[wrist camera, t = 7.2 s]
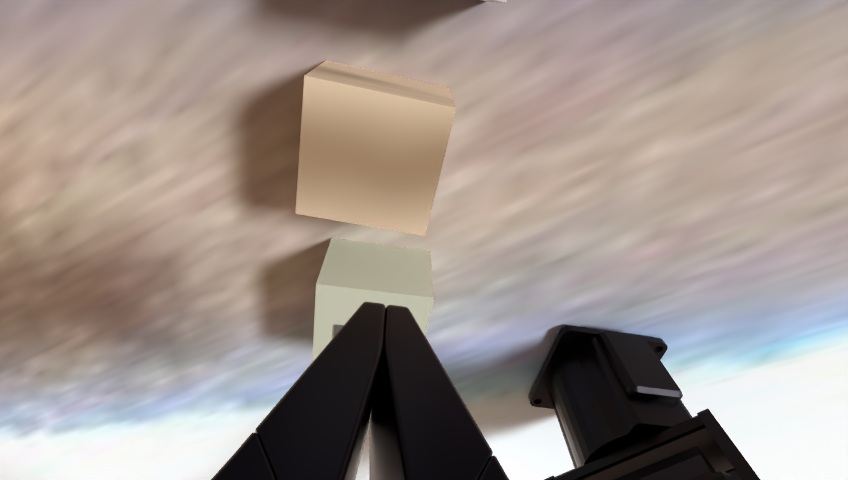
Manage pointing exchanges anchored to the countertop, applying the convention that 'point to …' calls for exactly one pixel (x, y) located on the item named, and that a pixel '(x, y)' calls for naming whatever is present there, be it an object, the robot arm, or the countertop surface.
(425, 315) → the sage block one
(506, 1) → the white die
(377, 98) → the birch block
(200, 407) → the countertop surface
